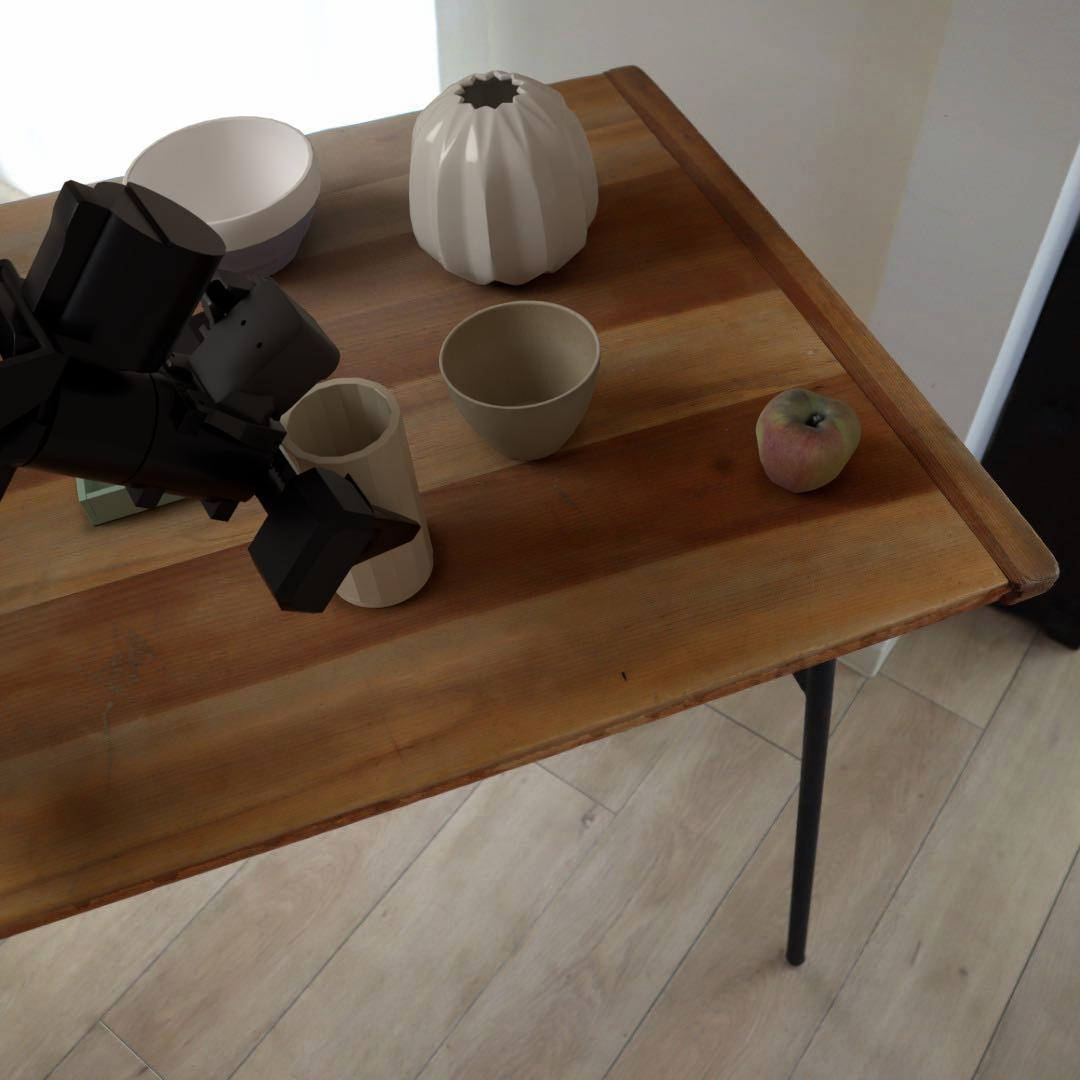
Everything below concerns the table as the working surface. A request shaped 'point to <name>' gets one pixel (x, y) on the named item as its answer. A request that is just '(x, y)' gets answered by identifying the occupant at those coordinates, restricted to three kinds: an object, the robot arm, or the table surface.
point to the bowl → (239, 185)
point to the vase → (501, 179)
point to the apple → (806, 439)
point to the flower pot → (522, 375)
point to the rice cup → (365, 476)
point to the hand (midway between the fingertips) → (378, 480)
